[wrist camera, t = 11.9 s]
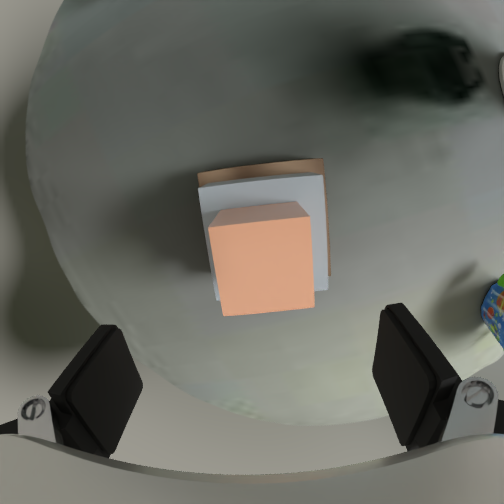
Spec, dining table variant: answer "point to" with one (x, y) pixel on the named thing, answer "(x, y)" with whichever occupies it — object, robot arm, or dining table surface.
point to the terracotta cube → (263, 258)
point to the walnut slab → (270, 170)
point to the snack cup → (495, 310)
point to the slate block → (271, 192)
